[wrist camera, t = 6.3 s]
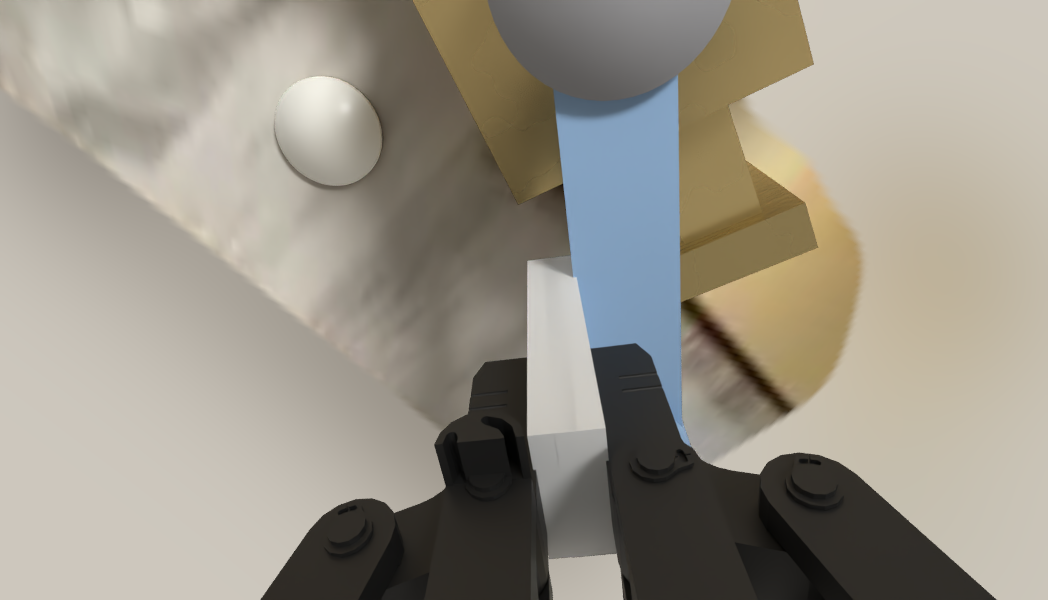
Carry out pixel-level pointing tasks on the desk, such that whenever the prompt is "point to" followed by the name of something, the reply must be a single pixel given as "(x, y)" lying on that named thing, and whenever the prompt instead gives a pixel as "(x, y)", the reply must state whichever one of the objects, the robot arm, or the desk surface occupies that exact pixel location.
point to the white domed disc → (328, 130)
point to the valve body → (704, 131)
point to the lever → (619, 154)
